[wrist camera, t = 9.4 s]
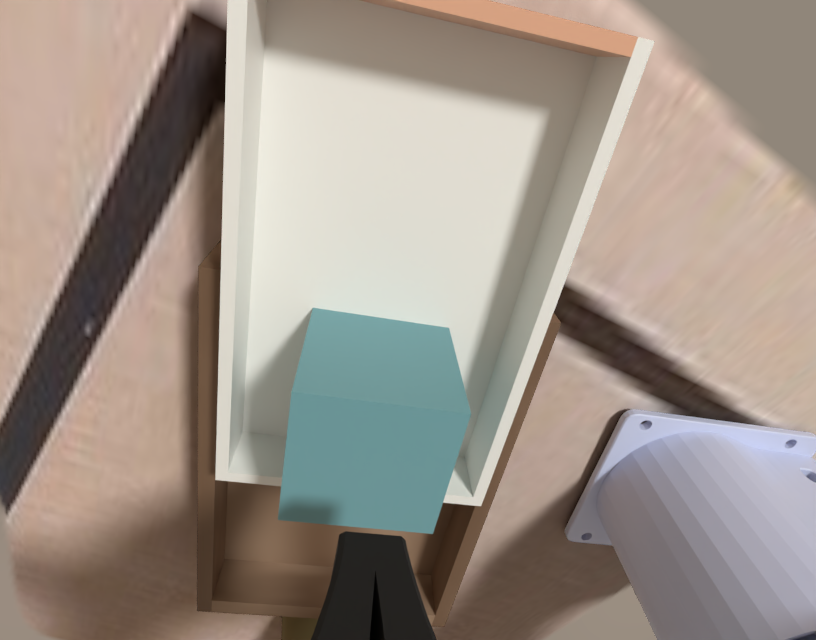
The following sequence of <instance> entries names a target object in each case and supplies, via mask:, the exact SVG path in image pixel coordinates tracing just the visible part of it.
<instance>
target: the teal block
mask: <svg viewBox="0 0 816 640" xmlns="http://www.w3.org/2000/svg"><path fill="white" fill-rule="evenodd" d="M470 416H471V411H470V407H469V403H468V400H467V396H466V392H465V388H464V384H463V380H462V376H461V372H460V369H459V365H458V361H457V357H456V353H455V349H454V345H453V341H452V338H451V334H450V330H449V328H447V327H440V326H433V325H426V324H420V323H413V322H406V321H400V320H393V319H386V318H379V317H373V316H366V315H359V314H352V313H346V312H339V311H332V310H325V309H319V308H313V309H312V313H311V317H310V321H309V325H308V329H307V333H306V337H305V341H304V345H303V348H302V352H301V356H300V360H299V364H298V368H297V372H296V376H295V380H294V384H293V388H292V391H291V400H290V410H289V419H288V428H287V438H286V447H285V456H284V465H283V475H282V484H281V493H280V503H279V512H278V520H282V521H293V522H305V523H316V524H327V525H338V526H349V527H361V528H372V529H383V530H394V531H405V532H416V533H428V534H433V532H434V529H435V526H436V523H437V520H438V517H439V513H440V510H441V507H442V504H443V501H444V498H445V495H446V492H447V488H448V485H449V482H450V479H451V476H452V473H453V470H454V467H455V463H456V460H457V457H458V454H459V451H460V448H461V445H462V441H463V438H464V435H465V432H466V429H467V426H468V423H469V420H470Z"/></svg>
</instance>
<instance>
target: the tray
mask: <svg viewBox="0 0 816 640" xmlns="http://www.w3.org/2000/svg"><path fill="white" fill-rule="evenodd" d="M654 42H655V41H652V40H648V39H644V38H640V37H636V36H632V35H628V34H623V33H619V32H615V31H611V30H607V29H603V28H599V27H595V26H591V25H587V24H583V23H579V22H575V21H571V20H567V19H562V18H558V17H554V16H550V15H546V14H542V13H538V12H534V11H530V10H526V9H522V8H518V7H514V6H510V5H506V4H501V3H497V2H493V1H489V0H228V8H227V47H226V86H225V125H224V164H223V202H222V241H221V280H220V319H219V357H218V396H217V435H216V474H215V480H221V481H231V482H241V483H251V484H261V485H271V486H281V484H282V475H283V465H284V456H285V447H286V438H287V428H288V419H289V410H290V400H291V391H292V388H293V384H294V380H295V376H296V372H297V368H298V364H299V360H300V356H301V352H302V348H303V345H304V341H305V337H306V333H307V329H308V325H309V321H310V317H311V313H312V309H313V308H319V309H325V310H332V311H339V312H346V313H352V314H359V315H366V316H373V317H379V318H386V319H393V320H400V321H406V322H413V323H420V324H426V325H433V326H440V327H447V328H449V330H450V334H451V338H452V341H453V345H454V349H455V353H456V357H457V361H458V365H459V369H460V372H461V376H462V380H463V384H464V388H465V392H466V396H467V400H468V403H469V407H470V411H471V416H470V420H469V423H468V426H467V429H466V432H465V435H464V438H463V441H462V445H461V448H460V451H459V454H458V457H457V460H456V463H455V467H454V470H453V473H452V476H451V479H450V482H449V485H448V488H447V492H446V495H445V498H444V501H443V503H452V504H462V505H472V506H481V505H482V503H483V500H484V497H485V495H486V492H487V489H488V487H489V484H490V481H491V479H492V476H493V473H494V471H495V468H496V465H497V462H498V460H499V457H500V454H501V452H502V449H503V446H504V444H505V441H506V438H507V436H508V433H509V430H510V428H511V425H512V422H513V420H514V417H515V414H516V412H517V409H518V406H519V404H520V401H521V398H522V395H523V393H524V390H525V387H526V385H527V382H528V379H529V377H530V374H531V371H532V369H533V366H534V363H535V361H536V358H537V355H538V353H539V350H540V347H541V345H542V342H543V339H544V337H545V334H546V331H547V328H548V326H549V323H550V320H551V318H552V315H553V312H554V310H555V307H556V304H557V302H558V299H559V296H560V294H561V291H562V288H563V286H564V283H565V280H566V278H567V275H568V272H569V270H570V267H571V264H572V261H573V259H574V256H575V253H576V251H577V248H578V245H579V243H580V240H581V237H582V235H583V232H584V229H585V227H586V224H587V221H588V219H589V216H590V213H591V211H592V208H593V205H594V202H595V200H596V197H597V194H598V192H599V189H600V186H601V184H602V181H603V178H604V176H605V173H606V170H607V168H608V165H609V162H610V160H611V157H612V154H613V152H614V149H615V146H616V144H617V141H618V138H619V135H620V133H621V130H622V127H623V125H624V122H625V119H626V117H627V114H628V111H629V109H630V106H631V103H632V101H633V98H634V95H635V93H636V90H637V87H638V85H639V82H640V79H641V77H642V74H643V71H644V68H645V66H646V63H647V60H648V58H649V55H650V52H651V50H652V47H653V44H654Z"/></svg>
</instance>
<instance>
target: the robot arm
mask: <svg viewBox="0 0 816 640" xmlns="http://www.w3.org/2000/svg"><path fill="white" fill-rule="evenodd" d="M646 420H647V421H646ZM643 421H646V422H645V423H643V424H641V423H642V422H643ZM815 452H816V435H815V434H813V433H810V432H802V431H795V430H787V429H780V428H772V427H765V426H757V425H750V424H742V423H735V422H727V421H720V420H712V419H705V418H697V417H690V416H682V415H675V414H667V413H660V412H652V411H645V410H637V409H631V410H628V411H626V412H625V413H623V414H622V416H621V417H620V419H619V421H618V423H617V425H616V427H615V429H614V431H613V433H612V435H611V437H610V439H609V441H608V443H607V445H606V447H605V449H604V451H603V453H602V455H601V457H600V459H599V461H598V463H597V465H596V467H595V469H594V471H593V473H592V475H591V477H590V479H589V481H588V483H587V485H586V487H585V489H584V492H583V494H582V496H581V498H580V500H579V502H578V504H577V506H576V508H575V510H574V512H573V514H572V516H571V518H570V520H569V522H568V524H567V526H566V528H565V531H564V532H565V534H566V537H567V539H568V540H569V541H572V542H580V543H591V544H602V545H613V548H614V550H615V552H616V554H617V556H618V558H619V560H620V562H621V564H622V566H623V569H624V571H625V573H626V575H627V577H628V579H629V581H630V583H631V585H632V587H633V589H634V592H635V594H636V596H637V598H638V600H639V602H640V604H641V606H642V608H643V611H644V613H645V614H646V617H647V619H648V621H649V622H650V625H651V627H652V629H653V632H654V634H655V636H656V638H657V640H816V461H815V460H814V459H813V458H812V456H813V455H814V454H815ZM311 640H436V637H435V634H434V632H433V629H432V626H431V624H430V621H429V619H428V616H427V613H426V610H425V607H424V604H423V601H422V598H421V595H420V592H419V589H418V586H417V583H416V579H415V576H414V572H413V569H412V565H411V562H410V558H409V554H408V550H407V545H406V540H405V539H404V538H403V537H402V536H395V535H383V534H371V533H359V532H348V531H345V532H343V533H341V534H339V539H338V544H337V549H336V555H335V560H334V565H333V571H332V576H331V581H330V584H329V588H328V591H327V595H326V598H325V601H324V604H323V607H322V610H321V612H320V615H319V618H318V621H317V624H316V627H315V630H314V633H313V635H312V638H311Z"/></svg>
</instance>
